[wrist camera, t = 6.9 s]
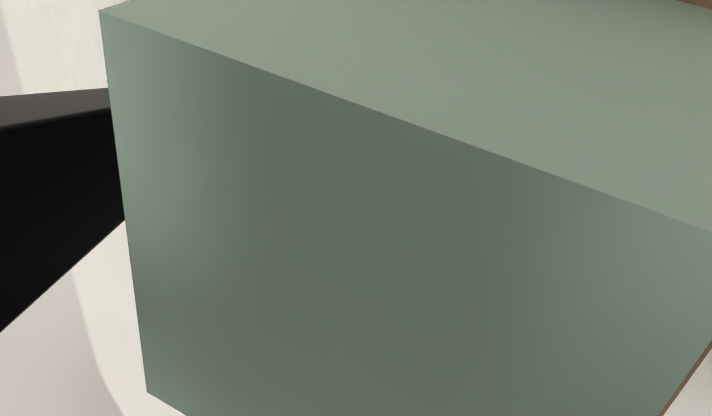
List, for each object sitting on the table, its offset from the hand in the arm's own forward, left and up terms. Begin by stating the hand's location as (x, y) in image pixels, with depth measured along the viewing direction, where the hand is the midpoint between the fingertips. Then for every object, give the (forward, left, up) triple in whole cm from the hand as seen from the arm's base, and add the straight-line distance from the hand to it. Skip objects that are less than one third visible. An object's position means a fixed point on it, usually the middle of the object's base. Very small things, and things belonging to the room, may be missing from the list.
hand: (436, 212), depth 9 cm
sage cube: (0, 0, -3) cm, 3 cm away
